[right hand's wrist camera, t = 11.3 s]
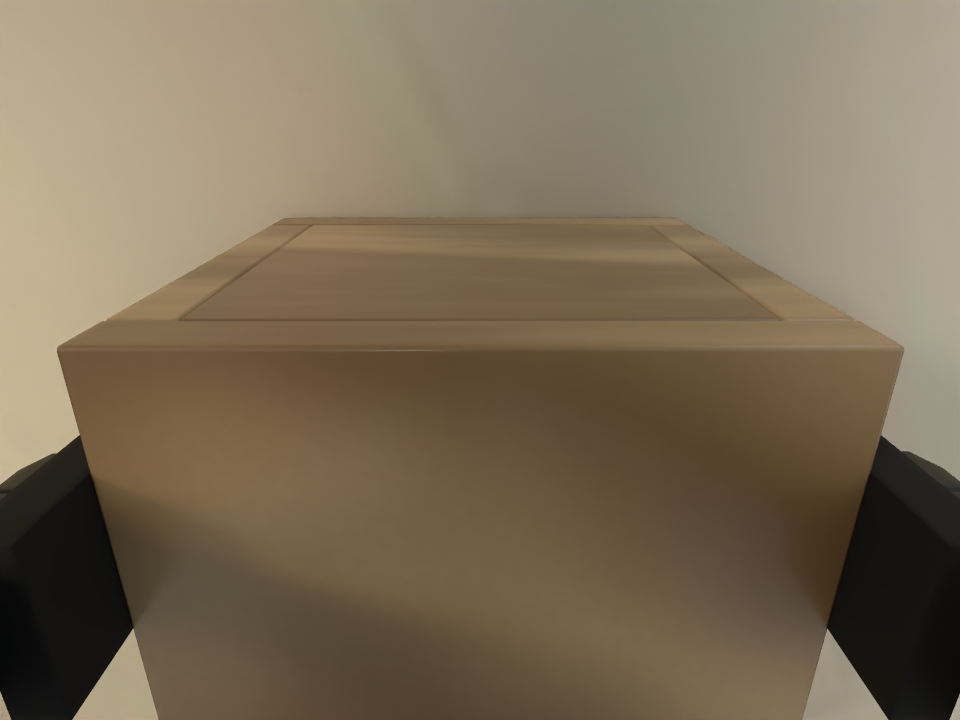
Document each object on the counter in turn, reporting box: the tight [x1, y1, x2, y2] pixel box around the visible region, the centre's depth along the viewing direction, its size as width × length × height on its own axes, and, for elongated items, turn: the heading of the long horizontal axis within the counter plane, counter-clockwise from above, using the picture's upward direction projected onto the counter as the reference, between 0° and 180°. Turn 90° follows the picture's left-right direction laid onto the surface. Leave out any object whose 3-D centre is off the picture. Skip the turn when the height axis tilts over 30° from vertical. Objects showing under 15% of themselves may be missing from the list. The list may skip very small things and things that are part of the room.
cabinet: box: [57, 218, 904, 720], centre depth 15 cm, size 16×10×10 cm, turn 0°
